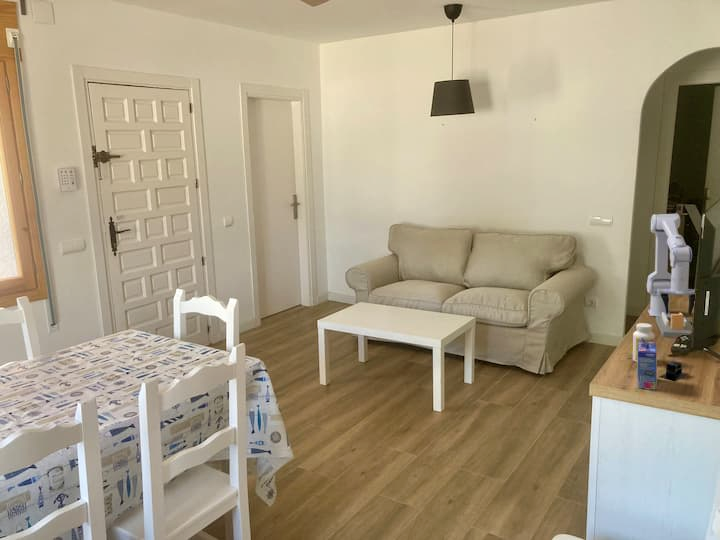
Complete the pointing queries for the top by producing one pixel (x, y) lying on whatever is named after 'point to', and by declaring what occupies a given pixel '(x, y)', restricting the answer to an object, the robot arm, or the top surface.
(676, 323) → the orange block
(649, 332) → the supplement bottle
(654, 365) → the ink cartridge box
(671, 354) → the top surface
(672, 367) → the black block
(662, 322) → the channel deck
